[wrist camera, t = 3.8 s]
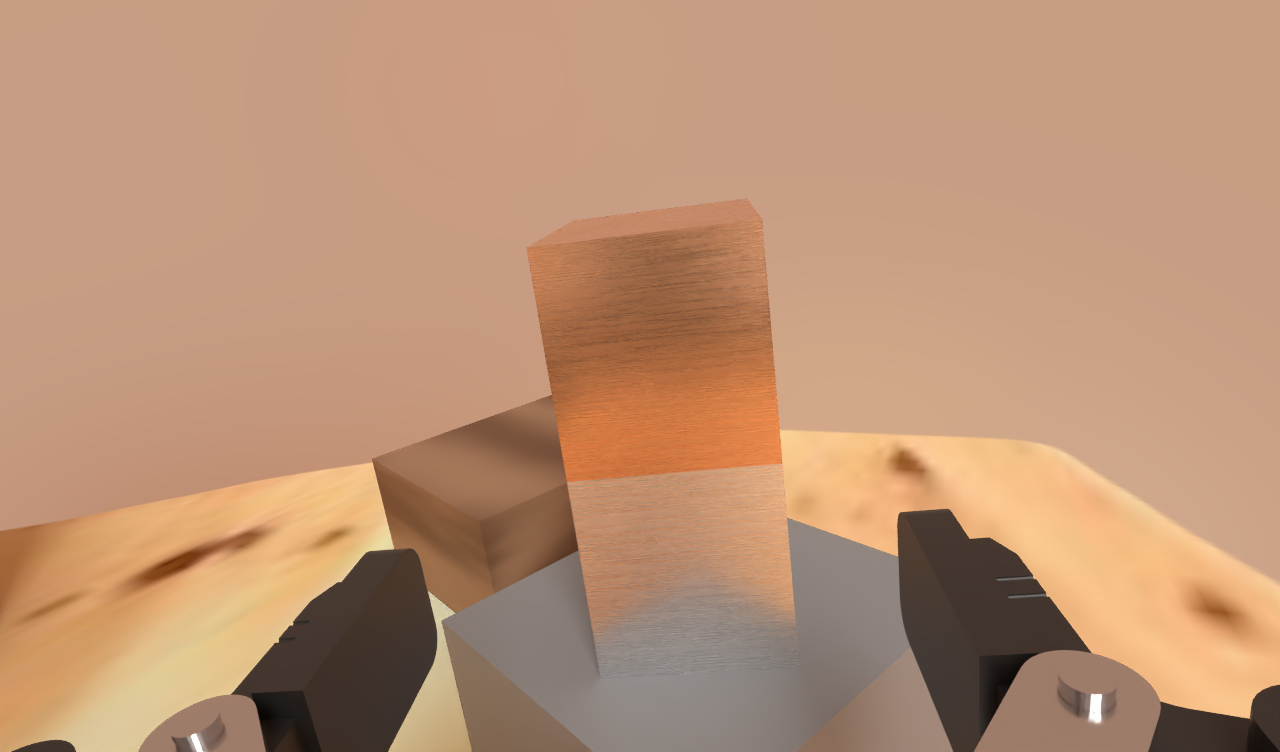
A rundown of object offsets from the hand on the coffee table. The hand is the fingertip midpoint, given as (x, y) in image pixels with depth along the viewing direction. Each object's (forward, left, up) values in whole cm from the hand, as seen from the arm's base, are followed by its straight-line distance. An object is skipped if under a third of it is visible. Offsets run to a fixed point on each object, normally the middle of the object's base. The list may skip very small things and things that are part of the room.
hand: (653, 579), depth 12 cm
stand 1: (+10, +22, -12) cm, 27 cm away
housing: (+6, +6, -6) cm, 10 cm away
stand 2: (+6, +6, -12) cm, 14 cm away
